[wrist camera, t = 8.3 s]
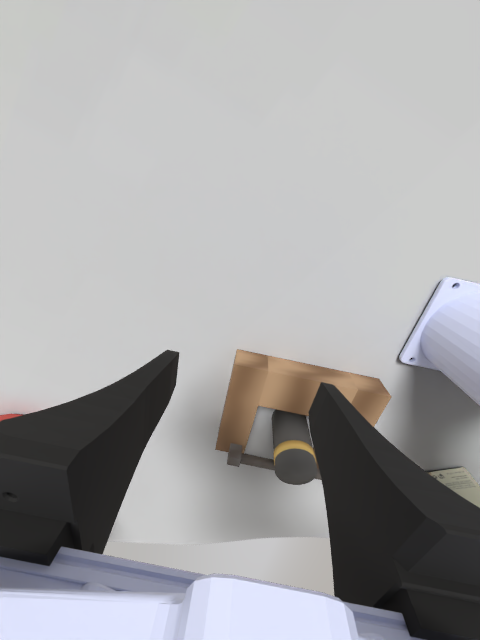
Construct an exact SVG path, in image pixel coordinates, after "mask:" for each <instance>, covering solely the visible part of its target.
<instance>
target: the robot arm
mask: <svg viewBox="0 0 480 640" xmlns="http://www.w3.org/2000/svg"><path fill="white" fill-rule="evenodd" d="M454 283H456V285H455V286H454V287H453V288H452V285H453V284H454ZM410 358H413V359H411V360H409V359H410ZM399 359H400V360H401V362H403V363H406V364H411V365H415V366H420V367H425V368H430V369H434V370H439V371H441V372H442V373H444V374H445V375H446V376H447V377H448V378H449V379H450V380H451V381H453V382H454V383H455V384H456V385H457V386H458V387H459V388H460V389H461V390H463V391H464V392H465V393H466V394H467V395H468V396H469V397H470V398H471V399H473V400H474V401H475V402H476V403H477V404H478V405H479V406H480V284H479V283H474V282H469V281H465V280H460V279H456V278H451V277H447V278H444V279H443V280H442V281H441V282H440V284H439V286H438V287H437V289H436V291H435V293H434V295H433V296H432V298H431V300H430V302H429V304H428V305H427V307H426V309H425V311H424V313H423V314H422V316H421V318H420V320H419V322H418V323H417V325H416V327H415V329H414V331H413V332H412V334H411V336H410V338H409V340H408V341H407V343H406V345H405V347H404V349H403V350H402V352H401V354H400V356H399ZM178 360H179V352H175V351H170V350H166V351H165V352H163V353H162V354H160V355H159V356H157V357H156V358H155V359H153V360H152V361H150V362H149V363H147V364H146V365H144V366H143V367H141V368H139V369H138V370H136V371H135V372H133V373H131V374H130V375H128V376H126V377H124V378H123V379H121V380H119V381H117V382H115V383H113V384H111V385H109V386H107V387H105V388H103V389H101V390H98V391H96V392H93V393H91V394H88V395H86V396H83V397H81V398H78V399H76V400H73V401H70V402H67V403H64V404H61V405H58V406H55V407H51V408H48V409H45V410H41V411H38V412H34V413H30V414H26V415H22V416H18V417H14V418H9V419H5V420H2V421H0V640H480V508H479V507H478V506H476V505H474V504H473V503H471V502H470V501H468V500H466V499H465V498H463V497H462V496H460V495H459V494H457V493H456V492H454V491H453V490H451V489H450V488H448V487H447V486H445V485H444V484H442V483H441V482H439V481H438V480H437V479H435V478H434V477H432V476H431V475H430V474H428V473H427V472H426V471H424V470H423V469H422V468H420V467H419V466H418V465H417V464H415V463H414V462H413V461H411V460H410V459H409V458H408V457H406V456H405V455H404V454H403V453H402V452H400V451H399V450H398V449H397V448H396V447H395V446H393V445H392V444H391V443H390V442H389V441H388V440H387V439H386V438H384V437H383V436H382V435H381V434H380V433H379V432H378V431H377V430H376V429H375V428H374V427H373V426H372V425H371V424H370V423H369V422H368V421H367V420H366V419H365V418H364V417H363V416H362V415H361V414H360V413H359V412H358V411H357V409H356V408H355V407H354V406H353V405H352V404H351V403H350V402H349V401H348V400H347V399H346V397H345V396H344V395H343V394H342V393H341V392H340V391H339V390H338V389H337V388H336V387H335V386H334V385H333V384H329V383H324V382H321V383H320V386H319V388H318V391H317V393H316V395H315V398H314V400H313V403H312V405H311V407H310V410H309V412H308V413H309V424H310V432H311V437H312V441H313V446H314V450H315V454H316V458H317V462H318V466H319V470H320V474H321V479H322V484H323V489H324V496H325V503H326V510H327V518H328V527H329V535H330V545H331V556H332V565H333V579H334V595H335V597H334V596H331V595H328V594H326V593H323V592H318V591H313V590H308V589H303V588H297V587H292V586H287V585H282V584H277V583H272V582H267V581H261V580H257V579H251V578H247V577H241V576H236V575H228V574H210V575H204V574H199V573H194V572H189V571H184V570H179V569H174V568H169V567H163V566H158V565H153V564H148V563H143V562H138V561H133V560H127V559H123V558H117V557H112V556H107V555H102V554H103V551H104V548H105V546H106V543H107V541H108V538H109V535H110V533H111V530H112V527H113V525H114V522H115V519H116V517H117V514H118V512H119V509H120V507H121V504H122V502H123V499H124V496H125V494H126V492H127V489H128V487H129V484H130V482H131V479H132V477H133V474H134V472H135V470H136V467H137V465H138V462H139V460H140V458H141V455H142V453H143V451H144V449H145V447H146V445H147V443H148V441H149V439H150V437H151V435H152V433H153V431H154V430H155V428H156V426H157V424H158V422H159V420H160V418H161V417H162V415H163V413H164V411H165V409H166V407H167V405H168V403H169V401H170V399H171V396H172V394H173V391H174V388H175V386H176V378H177V369H178Z"/></svg>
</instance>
